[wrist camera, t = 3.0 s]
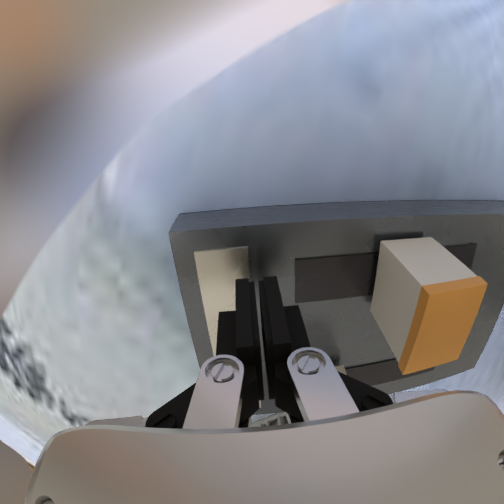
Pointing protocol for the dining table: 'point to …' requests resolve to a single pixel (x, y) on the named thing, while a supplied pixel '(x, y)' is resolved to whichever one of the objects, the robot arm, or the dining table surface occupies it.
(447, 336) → the lever
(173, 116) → the dining table surface
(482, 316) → the slotted slider board
